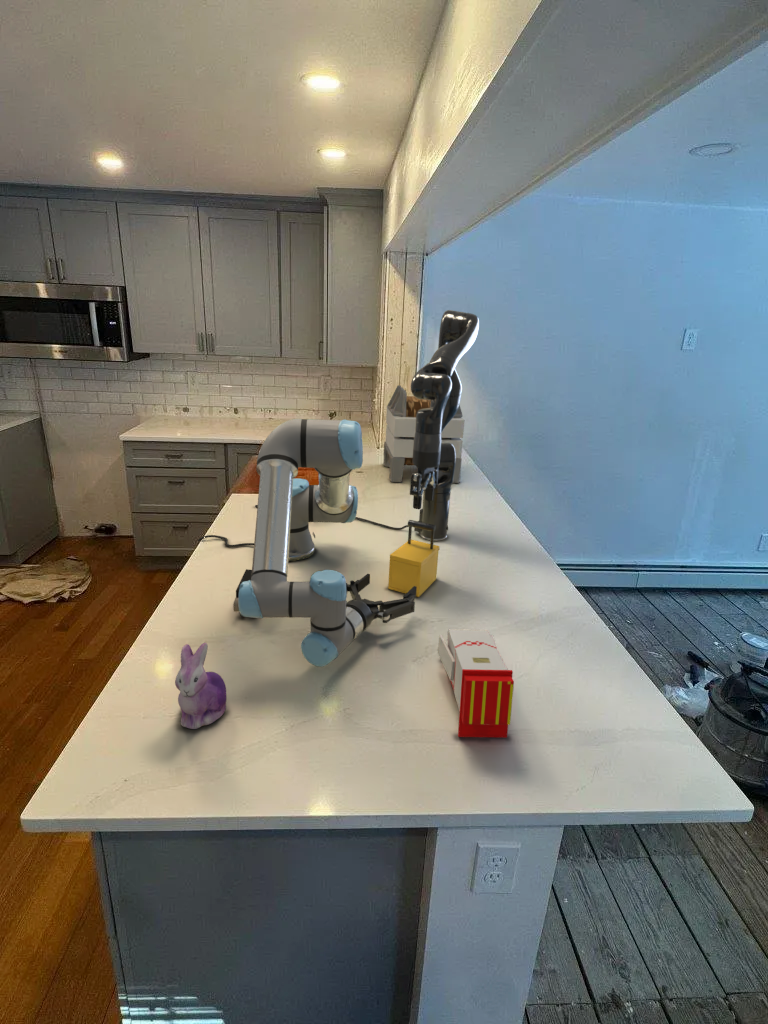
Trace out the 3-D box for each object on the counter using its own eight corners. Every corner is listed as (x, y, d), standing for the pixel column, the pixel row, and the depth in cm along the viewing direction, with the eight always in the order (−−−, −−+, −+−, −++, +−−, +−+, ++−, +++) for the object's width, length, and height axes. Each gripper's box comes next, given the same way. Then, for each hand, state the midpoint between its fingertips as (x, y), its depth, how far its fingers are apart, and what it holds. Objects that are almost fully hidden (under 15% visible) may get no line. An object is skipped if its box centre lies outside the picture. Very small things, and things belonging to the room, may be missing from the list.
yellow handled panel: (409, 543, 169) (411, 516, 166) (439, 550, 165) (441, 522, 162) (389, 559, 157) (391, 530, 155) (421, 566, 153) (423, 537, 151)
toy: (488, 613, 130) (523, 677, 101) (484, 667, 133) (517, 744, 104) (435, 612, 130) (455, 676, 101) (432, 666, 133) (451, 743, 103)
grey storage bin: (382, 463, 289) (386, 382, 275) (445, 464, 293) (451, 384, 279) (390, 482, 257) (394, 392, 243) (460, 483, 261) (468, 394, 247)
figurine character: (260, 625, 142) (270, 591, 155) (258, 600, 138) (268, 567, 152) (233, 624, 141) (245, 590, 155) (230, 599, 138) (243, 567, 152)
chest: (407, 571, 171) (408, 544, 168) (436, 579, 167) (438, 551, 164) (388, 588, 161) (389, 559, 157) (418, 597, 157) (421, 567, 154)
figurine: (182, 738, 102) (175, 668, 97) (173, 704, 111) (167, 638, 106) (234, 723, 106) (231, 655, 101) (222, 691, 115) (218, 627, 110)
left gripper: (305, 620, 137) (350, 585, 155) (398, 650, 127) (434, 609, 145) (305, 592, 135) (350, 560, 153) (400, 621, 125) (436, 583, 142)
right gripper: (429, 455, 146) (425, 514, 152) (449, 445, 158) (444, 500, 164) (403, 451, 149) (400, 509, 155) (424, 441, 161) (420, 495, 167)
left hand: (391, 584), depth 149 cm, fingers open, 13 cm apart
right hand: (423, 504), depth 159 cm, fingers open, 8 cm apart
